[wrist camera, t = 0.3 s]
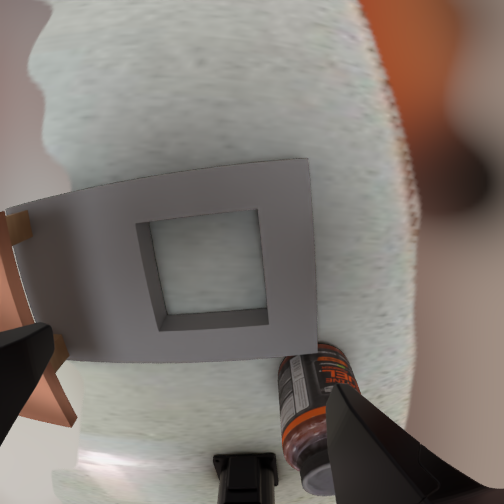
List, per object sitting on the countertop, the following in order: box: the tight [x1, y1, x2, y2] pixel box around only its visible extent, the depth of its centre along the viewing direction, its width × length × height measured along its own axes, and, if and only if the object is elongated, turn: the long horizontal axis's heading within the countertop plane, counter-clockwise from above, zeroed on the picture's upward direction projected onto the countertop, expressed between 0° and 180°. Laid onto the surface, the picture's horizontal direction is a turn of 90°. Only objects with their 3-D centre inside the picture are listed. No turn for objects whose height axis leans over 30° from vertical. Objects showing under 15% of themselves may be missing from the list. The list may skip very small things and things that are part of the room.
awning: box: [0, 210, 77, 427], centre depth 17 cm, size 13×6×8 cm, turn 6°
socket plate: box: [6, 158, 318, 363], centre depth 21 cm, size 13×22×2 cm, turn 96°
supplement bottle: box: [278, 344, 361, 496], centre depth 20 cm, size 6×6×11 cm
